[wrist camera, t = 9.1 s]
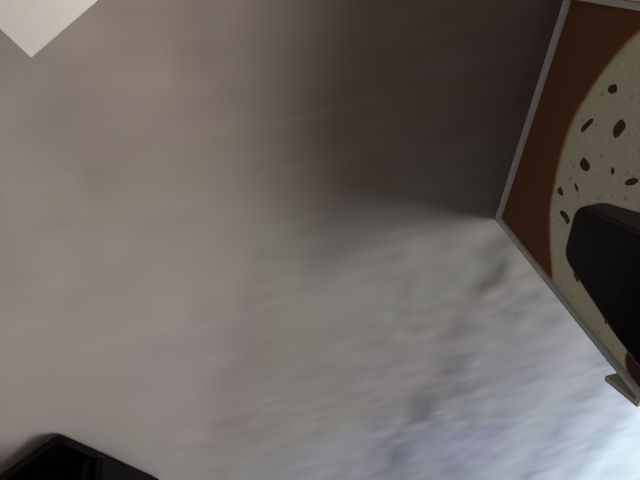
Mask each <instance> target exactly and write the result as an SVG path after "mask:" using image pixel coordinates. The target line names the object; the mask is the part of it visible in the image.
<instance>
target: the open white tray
mask: <svg viewBox="0 0 640 480" xmlns="http://www.w3.org/2000/svg"><path fill="white" fill-rule="evenodd" d="M96 1H97V0H0V29H1V30H2V31H3V32H4V33H5V34H6V35H7V36H8V37H10V38H11V39H12V40H13V41H14V42H15V43H16V44H17V45H18V46H19V47H20V48H21V49H23V50H24V51H25V52H26V53H27V54H28V55H29V56H30V57H33V56H34V55H35V54H36V53H37V52H38V51H40V50H41V49H42V48H43V47H44V46H45V45H46V44H48V43H49V42H50V41H51V40H52V39H53V38H55V37H56V36H57V35H58V34H59V33H60V32H62V31H63V30H64V29H65V28H66V27H67V26H68V25H70V24H71V23H72V22H73V21H74V20H75V19H77V18H78V17H79V16H80V15H81V14H82V13H84V12H85V11H86V10H87V9H88V8H89V7H90V6H92V5H93V4H94V3H95V2H96Z"/></svg>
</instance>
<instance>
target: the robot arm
mask: <svg viewBox="0 0 640 480" xmlns="http://www.w3.org/2000/svg"><path fill="white" fill-rule="evenodd" d="M565 254H566V259H567V261H568V263H569V265H570V267H571V268H572V270H573V271H574V273H575V274H576V276H577V278H578V279H579V281H580V282H581V284H582V285H583V287H584V288H585V290H586V291H587V293H588V294H589V296H590V298H591V299H592V301H593V302H594V304H595V305H596V307H597V308H598V310H599V311H600V313H601V314H602V316H603V318H604V319H605V321H606V322H607V324H608V325H609V327H610V328H611V330H612V331H613V333H614V334H615V335H616V337H617V338H618V340H619V341H620V342H621V344H622V345H623V346H624V348H625V349H626V350H627V351H628V353H629V354H630V355H631V356H632V358H633V359H634V360H635V361H636V363H637V364H638V365H639V366H640V212H637V211H633V210H630V209H626V208H622V207H619V206H615V205H612V204H608V203H596V204H591V205H587V206H583V207H581V208H579V209H578V210H577V211H576V213H575V214H574V217H573V221H572V225H571V229H570V233H569V236H568V240H567V244H566V249H565ZM0 480H159V479H157V478H155V477H153V476H151V475H148V474H146V473H144V472H142V471H140V470H137V469H135V468H133V467H131V466H129V465H126V464H124V463H122V462H120V461H118V460H115V459H113V458H111V457H109V456H107V455H104V454H102V453H100V452H98V451H96V450H93V449H91V448H89V447H87V446H85V445H82V444H80V443H78V442H76V441H74V440H71V439H69V438H66V437H55V438H53V439H51V440H49V441H48V442H46V443H45V444H44V445H42V446H41V447H39V448H38V449H37V450H35V451H34V452H33V453H31V454H30V455H29V456H27V457H26V458H24V459H23V460H22V461H20V462H19V463H18V464H16V465H15V466H14V467H12V468H11V469H9V470H8V471H7V472H5V473H4V474H3V475H1V476H0Z"/></svg>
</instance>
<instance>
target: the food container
mask: <svg viewBox="0 0 640 480" xmlns="http://www.w3.org/2000/svg"><path fill="white" fill-rule="evenodd" d="M596 203H608V204H612V205H615V206H619V207H622V208H626V209H630V210H633V211H637V212H640V2H635V1H629V0H563V3H562V6H561V9H560V12H559V16H558V19H557V22H556V25H555V28H554V32H553V35H552V38H551V41H550V44H549V48H548V51H547V54H546V57H545V60H544V64H543V67H542V70H541V73H540V76H539V80H538V83H537V86H536V89H535V92H534V96H533V99H532V102H531V105H530V108H529V111H528V115H527V118H526V121H525V124H524V127H523V131H522V134H521V137H520V140H519V143H518V147H517V150H516V153H515V156H514V159H513V163H512V166H511V169H510V172H509V175H508V179H507V182H506V185H505V188H504V191H503V195H502V198H501V201H500V204H499V207H498V211H497V214H496V217H495V220H496V221H497V223H498V224H499V225H500V226H501V228H502V229H503V230H504V231H505V233H506V234H507V235H508V236H509V238H510V239H511V240H512V241H513V243H514V244H515V245H516V246H517V248H518V249H519V250H520V251H521V253H522V254H523V255H524V256H525V258H526V259H527V260H528V261H529V263H530V264H531V265H532V267H533V268H534V269H535V270H536V272H537V273H538V274H539V275H540V277H541V278H542V279H543V280H544V282H545V283H546V284H547V285H548V287H549V288H550V289H551V290H552V292H553V293H554V294H555V295H556V297H557V298H558V299H559V300H560V302H561V303H562V304H563V306H564V307H565V308H566V309H567V311H568V312H569V313H570V314H571V316H572V317H573V318H574V319H575V321H576V322H577V323H578V324H579V326H580V327H581V328H582V329H583V331H584V332H585V333H586V334H587V336H588V337H589V338H590V339H591V341H592V342H593V343H594V345H595V346H596V347H597V348H598V350H599V351H600V352H601V353H602V355H603V356H604V357H605V358H606V360H607V361H608V362H609V363H610V365H611V366H612V367H613V368H614V370H615V371H616V372H617V373H616V374H612V375H608V376H605V381H606V382H607V383H609V384H610V385H611V386H612V387H614V388H615V389H616V390H617V391H618V392H620V393H621V394H622V395H623V396H624V397H626V398H627V399H628V400H629V401H631V402H632V403H633V404H634V405H635V406H637V407H638V406H640V366H639V365H638V364H637V363H636V361H635V360H634V359H633V358H632V356H631V355H630V354H629V353H628V351H627V350H626V349H625V348H624V346H623V345H622V344H621V342H620V341H619V340H618V338H617V337H616V335H615V334H614V333H613V331H612V330H611V328H610V327H609V325H608V324H607V322H606V321H605V319H604V318H603V316H602V314H601V313H600V311H599V310H598V308H597V307H596V305H595V304H594V302H593V301H592V299H591V298H590V296H589V294H588V293H587V291H586V290H585V288H584V287H583V285H582V284H581V282H580V281H579V279H578V278H577V276H576V274H575V273H574V271H573V270H572V268H571V267H570V265H569V263H568V261H567V259H566V254H565V249H566V244H567V240H568V236H569V233H570V229H571V225H572V221H573V217H574V214H575V213H576V211H577V210H578V209H579V208H581V207H583V206H587V205H591V204H596Z"/></svg>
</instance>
